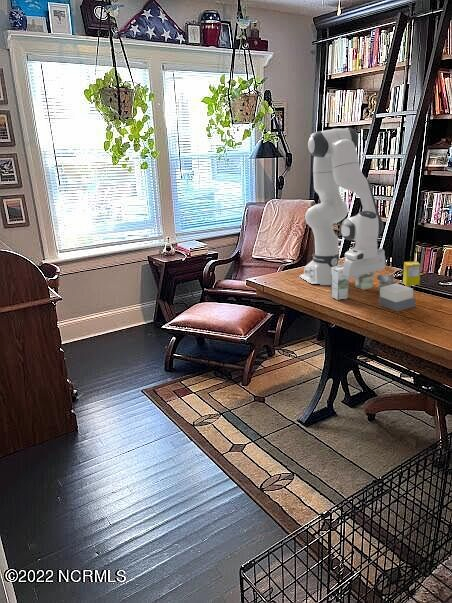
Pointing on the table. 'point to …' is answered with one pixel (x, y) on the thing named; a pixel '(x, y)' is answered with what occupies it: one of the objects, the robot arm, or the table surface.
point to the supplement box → (411, 273)
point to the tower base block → (397, 304)
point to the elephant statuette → (385, 280)
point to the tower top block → (396, 292)
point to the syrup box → (339, 283)
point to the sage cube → (365, 281)
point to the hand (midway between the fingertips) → (363, 283)
